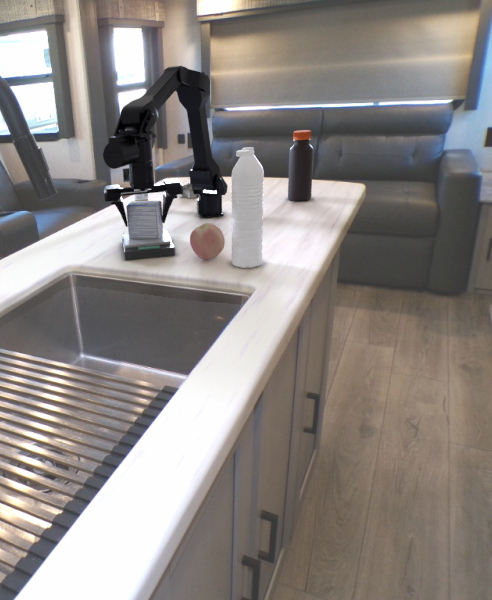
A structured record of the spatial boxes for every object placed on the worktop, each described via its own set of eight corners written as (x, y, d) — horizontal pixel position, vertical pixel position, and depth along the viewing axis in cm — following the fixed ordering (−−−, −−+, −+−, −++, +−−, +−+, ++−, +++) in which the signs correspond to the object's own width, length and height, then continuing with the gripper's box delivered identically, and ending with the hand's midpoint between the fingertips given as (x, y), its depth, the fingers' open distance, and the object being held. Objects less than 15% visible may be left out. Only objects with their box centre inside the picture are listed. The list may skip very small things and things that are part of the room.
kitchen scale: (167, 238, 141) (167, 228, 140) (175, 255, 128) (174, 244, 127) (122, 242, 141) (121, 233, 140) (124, 260, 128) (124, 249, 127)
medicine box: (163, 234, 135) (161, 200, 132) (159, 239, 131) (157, 204, 128) (133, 234, 138) (131, 200, 134) (128, 239, 134) (125, 205, 131)
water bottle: (235, 257, 123) (235, 145, 113) (264, 259, 120) (267, 144, 110) (225, 270, 116) (224, 152, 106) (256, 273, 113) (258, 151, 103)
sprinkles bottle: (142, 206, 175) (139, 164, 170) (152, 208, 172) (149, 165, 166) (132, 209, 172) (128, 167, 167) (141, 211, 169) (138, 168, 164)
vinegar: (313, 196, 166) (317, 129, 158) (307, 202, 161) (311, 132, 153) (291, 195, 169) (293, 129, 161) (285, 201, 164) (287, 133, 156)
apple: (202, 250, 129) (201, 218, 126) (230, 255, 125) (230, 221, 121) (184, 260, 124) (182, 227, 121) (213, 265, 119) (213, 231, 116)
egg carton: (191, 199, 178) (191, 186, 176) (175, 196, 184) (175, 184, 182) (213, 192, 184) (213, 180, 182) (197, 189, 189) (196, 178, 188)
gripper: (175, 151, 134) (178, 212, 141) (101, 159, 135) (107, 219, 141) (181, 158, 124) (184, 224, 130) (101, 166, 124) (108, 231, 130)
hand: (145, 224), depth 133 cm, fingers open, 9 cm apart
